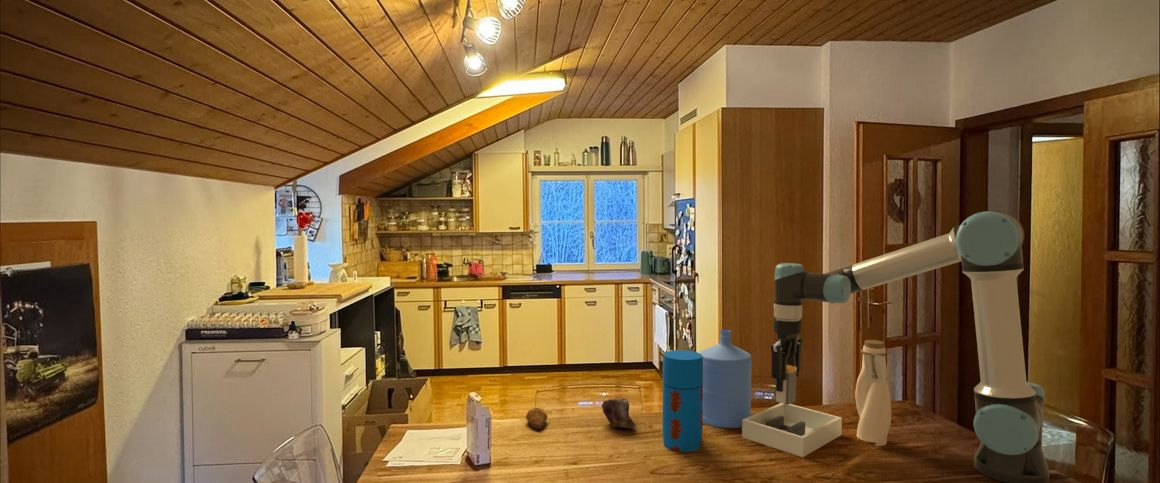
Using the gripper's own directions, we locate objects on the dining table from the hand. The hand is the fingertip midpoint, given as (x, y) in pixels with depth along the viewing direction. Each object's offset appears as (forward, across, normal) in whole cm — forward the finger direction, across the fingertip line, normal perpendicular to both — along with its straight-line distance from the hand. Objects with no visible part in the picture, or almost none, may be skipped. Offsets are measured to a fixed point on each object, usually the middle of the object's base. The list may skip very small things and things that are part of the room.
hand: (785, 400), depth 172 cm
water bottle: (+11, -15, +18) cm, 26 cm away
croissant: (+12, +45, -56) cm, 73 cm away
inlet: (+10, 0, 0) cm, 10 cm away
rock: (+11, +28, -38) cm, 49 cm away
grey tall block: (0, 0, 0) cm, 0 cm away
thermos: (+11, +25, -17) cm, 32 cm away
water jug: (+11, +2, -19) cm, 22 cm away
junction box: (+11, 0, +2) cm, 11 cm away
